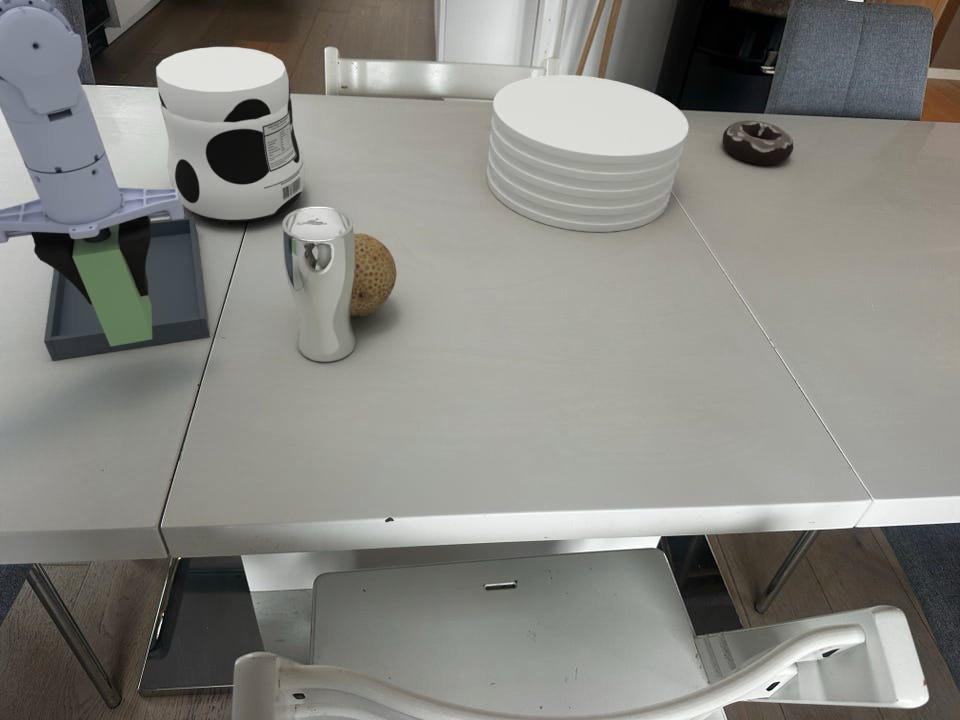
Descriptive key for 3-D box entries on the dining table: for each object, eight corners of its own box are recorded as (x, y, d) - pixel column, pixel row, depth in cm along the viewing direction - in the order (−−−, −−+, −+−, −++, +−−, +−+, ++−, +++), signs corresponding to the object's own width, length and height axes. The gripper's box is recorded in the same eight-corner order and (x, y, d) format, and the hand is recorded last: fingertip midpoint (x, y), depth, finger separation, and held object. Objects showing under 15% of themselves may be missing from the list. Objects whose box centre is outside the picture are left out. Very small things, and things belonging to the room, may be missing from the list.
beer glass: (321, 316, 80) (312, 197, 71) (372, 339, 78) (369, 219, 68) (280, 349, 76) (264, 226, 66) (332, 374, 73) (323, 250, 64)
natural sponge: (370, 349, 77) (369, 273, 70) (300, 325, 79) (291, 248, 72) (408, 305, 83) (410, 231, 77) (342, 284, 85) (338, 210, 79)
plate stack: (699, 187, 112) (721, 116, 104) (605, 255, 95) (623, 176, 87) (555, 129, 124) (565, 61, 116) (448, 180, 107) (452, 105, 99)
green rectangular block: (110, 346, 65) (63, 235, 56) (111, 311, 68) (67, 202, 60) (152, 339, 66) (112, 229, 57) (151, 305, 69) (113, 196, 61)
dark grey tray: (52, 360, 72) (43, 341, 70) (65, 248, 86) (58, 230, 85) (210, 337, 76) (205, 318, 75) (197, 234, 91) (193, 216, 89)
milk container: (179, 173, 102) (151, 43, 90) (303, 168, 106) (291, 43, 94) (172, 238, 90) (138, 97, 78) (312, 229, 94) (299, 94, 82)
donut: (800, 168, 120) (810, 146, 117) (736, 168, 118) (744, 146, 115) (769, 138, 128) (777, 117, 125) (709, 138, 126) (715, 116, 123)
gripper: (-51, 193, 50) (25, 336, 60) (166, 168, 54) (205, 306, 64) (-35, 148, 55) (33, 287, 64) (163, 127, 59) (200, 261, 68)
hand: (118, 293), depth 64 cm, fingers closed on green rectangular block, 3 cm apart
